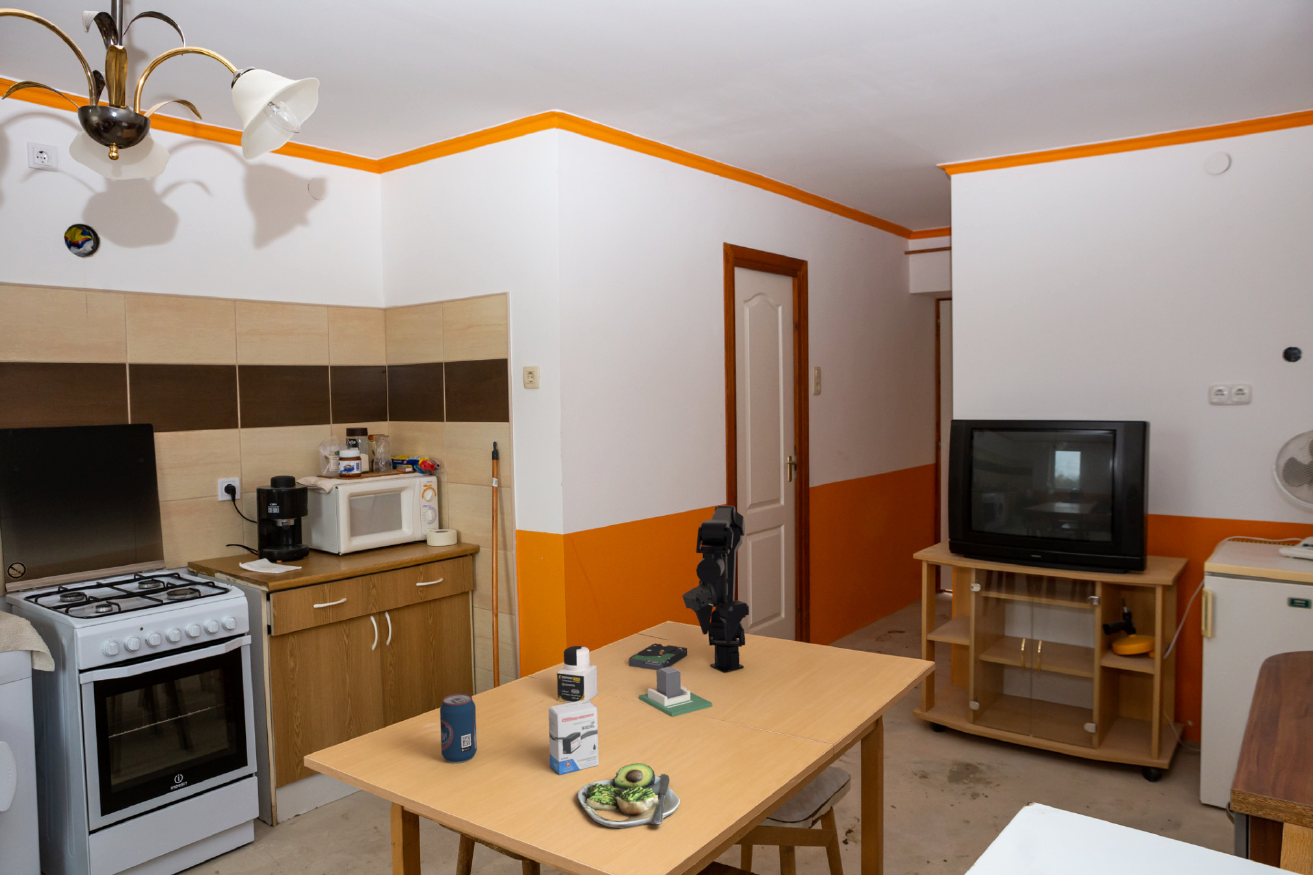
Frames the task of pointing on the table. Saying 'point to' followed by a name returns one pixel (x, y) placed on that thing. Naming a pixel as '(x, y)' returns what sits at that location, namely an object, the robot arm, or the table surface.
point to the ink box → (573, 736)
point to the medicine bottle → (577, 676)
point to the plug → (669, 682)
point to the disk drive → (657, 656)
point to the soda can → (458, 728)
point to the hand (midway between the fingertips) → (716, 638)
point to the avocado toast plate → (630, 797)
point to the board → (675, 702)
